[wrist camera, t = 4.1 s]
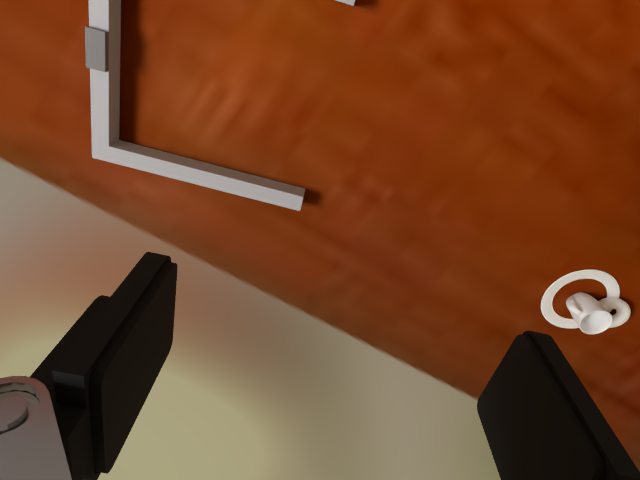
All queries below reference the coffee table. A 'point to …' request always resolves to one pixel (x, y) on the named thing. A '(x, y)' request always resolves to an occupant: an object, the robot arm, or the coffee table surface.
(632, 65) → the coffee table surface
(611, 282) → the white curved piece
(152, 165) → the grey u-frame
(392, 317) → the coffee table surface
